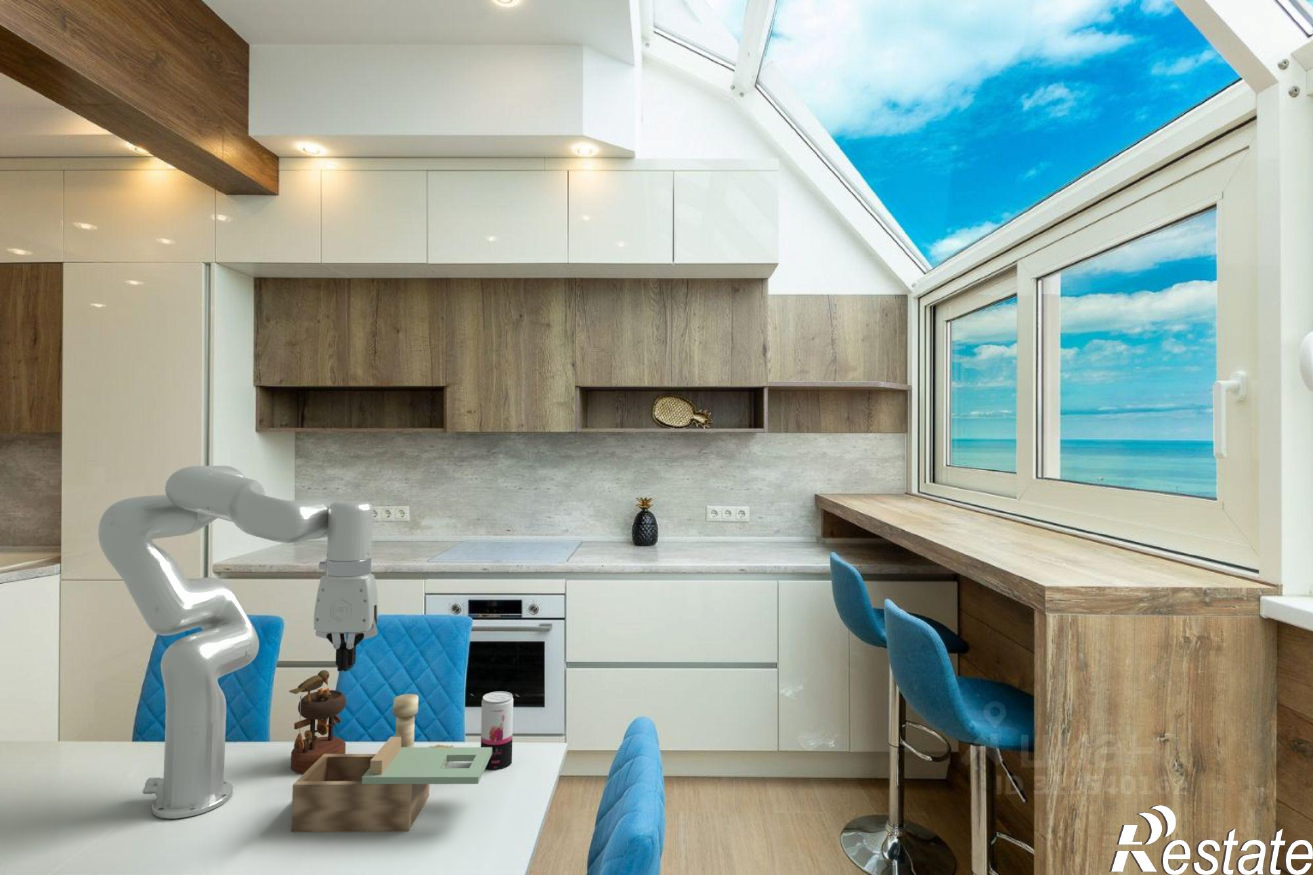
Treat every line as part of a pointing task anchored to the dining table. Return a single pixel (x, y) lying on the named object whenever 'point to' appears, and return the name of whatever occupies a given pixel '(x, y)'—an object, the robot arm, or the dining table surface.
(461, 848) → the dining table surface
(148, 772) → the dining table surface
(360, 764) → the wooden box
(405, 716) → the pin
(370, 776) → the green box lid
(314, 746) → the music box
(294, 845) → the dining table surface
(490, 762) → the beverage can
